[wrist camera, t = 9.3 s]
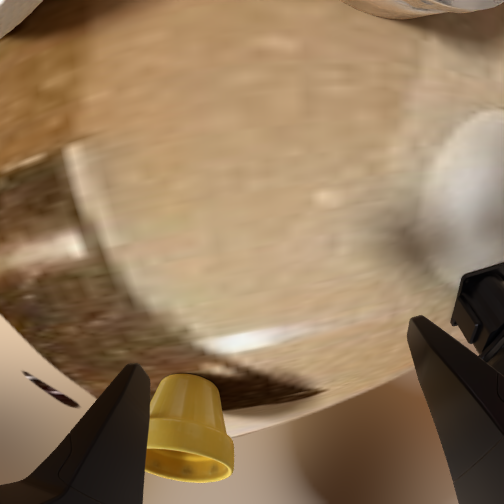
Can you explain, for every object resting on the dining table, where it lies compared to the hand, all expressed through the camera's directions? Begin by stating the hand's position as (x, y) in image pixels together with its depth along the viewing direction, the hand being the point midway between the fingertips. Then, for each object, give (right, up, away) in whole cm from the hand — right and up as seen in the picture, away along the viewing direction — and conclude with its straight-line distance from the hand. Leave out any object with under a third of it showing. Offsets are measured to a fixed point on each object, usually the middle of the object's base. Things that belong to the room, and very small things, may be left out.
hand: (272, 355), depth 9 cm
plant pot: (-8, -12, +23) cm, 27 cm away
